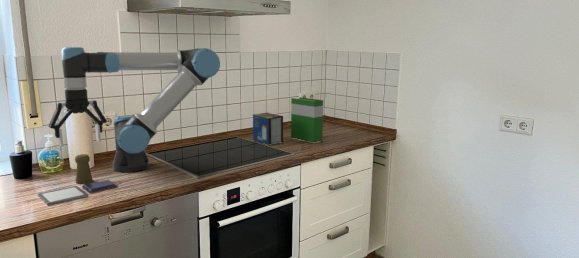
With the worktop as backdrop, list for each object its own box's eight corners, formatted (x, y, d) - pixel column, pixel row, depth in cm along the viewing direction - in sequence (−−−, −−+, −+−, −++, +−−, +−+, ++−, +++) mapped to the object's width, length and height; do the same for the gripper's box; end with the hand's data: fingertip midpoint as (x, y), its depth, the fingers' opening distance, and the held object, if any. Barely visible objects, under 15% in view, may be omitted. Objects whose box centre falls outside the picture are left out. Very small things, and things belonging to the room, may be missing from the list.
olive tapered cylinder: (95, 179, 168) (93, 152, 166) (88, 184, 162) (86, 156, 160) (80, 179, 168) (77, 152, 166) (73, 184, 162) (70, 156, 160)
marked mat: (76, 187, 158) (76, 185, 158) (88, 196, 149) (88, 194, 149) (37, 195, 150) (37, 193, 149) (47, 205, 140) (47, 203, 140)
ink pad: (109, 182, 165) (109, 178, 164) (117, 187, 159) (117, 183, 159) (82, 187, 158) (82, 184, 158) (89, 193, 152) (89, 189, 152)
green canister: (291, 139, 244) (291, 98, 240) (299, 137, 250) (300, 97, 245) (313, 144, 232) (314, 101, 228) (322, 142, 237) (323, 100, 233)
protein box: (267, 138, 246) (267, 112, 243) (283, 143, 234) (283, 116, 231) (252, 140, 239) (252, 114, 236) (268, 145, 227) (268, 117, 224)
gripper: (105, 86, 169) (109, 137, 173) (35, 89, 152) (41, 146, 156) (113, 87, 164) (116, 140, 168) (41, 91, 147) (47, 150, 151)
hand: (80, 143), depth 162 cm, fingers open, 13 cm apart
